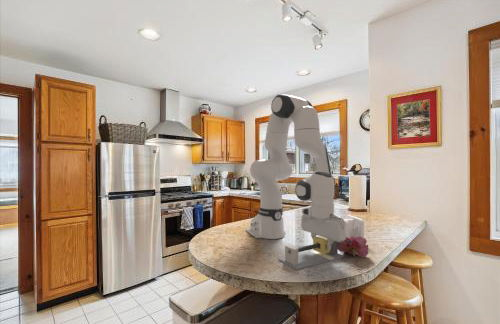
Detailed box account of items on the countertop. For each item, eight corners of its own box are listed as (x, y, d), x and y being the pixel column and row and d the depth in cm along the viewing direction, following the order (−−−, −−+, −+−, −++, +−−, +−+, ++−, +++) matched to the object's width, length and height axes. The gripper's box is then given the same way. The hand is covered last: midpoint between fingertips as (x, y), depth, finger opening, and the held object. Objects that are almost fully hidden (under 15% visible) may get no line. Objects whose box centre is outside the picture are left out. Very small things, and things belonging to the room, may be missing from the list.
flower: (340, 258, 103) (349, 237, 106) (363, 268, 95) (372, 245, 99) (329, 248, 97) (339, 226, 100) (353, 257, 89) (363, 233, 92)
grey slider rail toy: (278, 260, 92) (278, 241, 92) (323, 249, 105) (324, 233, 105) (296, 270, 83) (297, 249, 83) (343, 256, 96) (343, 239, 96)
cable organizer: (365, 245, 111) (366, 220, 111) (345, 246, 109) (345, 221, 109) (346, 236, 126) (347, 213, 126) (328, 237, 124) (328, 214, 124)
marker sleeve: (313, 249, 98) (313, 237, 98) (320, 248, 100) (320, 236, 100) (323, 253, 94) (323, 240, 94) (330, 252, 96) (330, 239, 96)
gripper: (350, 216, 90) (349, 253, 90) (309, 207, 107) (309, 239, 107) (338, 218, 87) (338, 256, 86) (299, 208, 104) (298, 241, 104)
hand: (321, 246), depth 97 cm, fingers closed on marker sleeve, 5 cm apart
